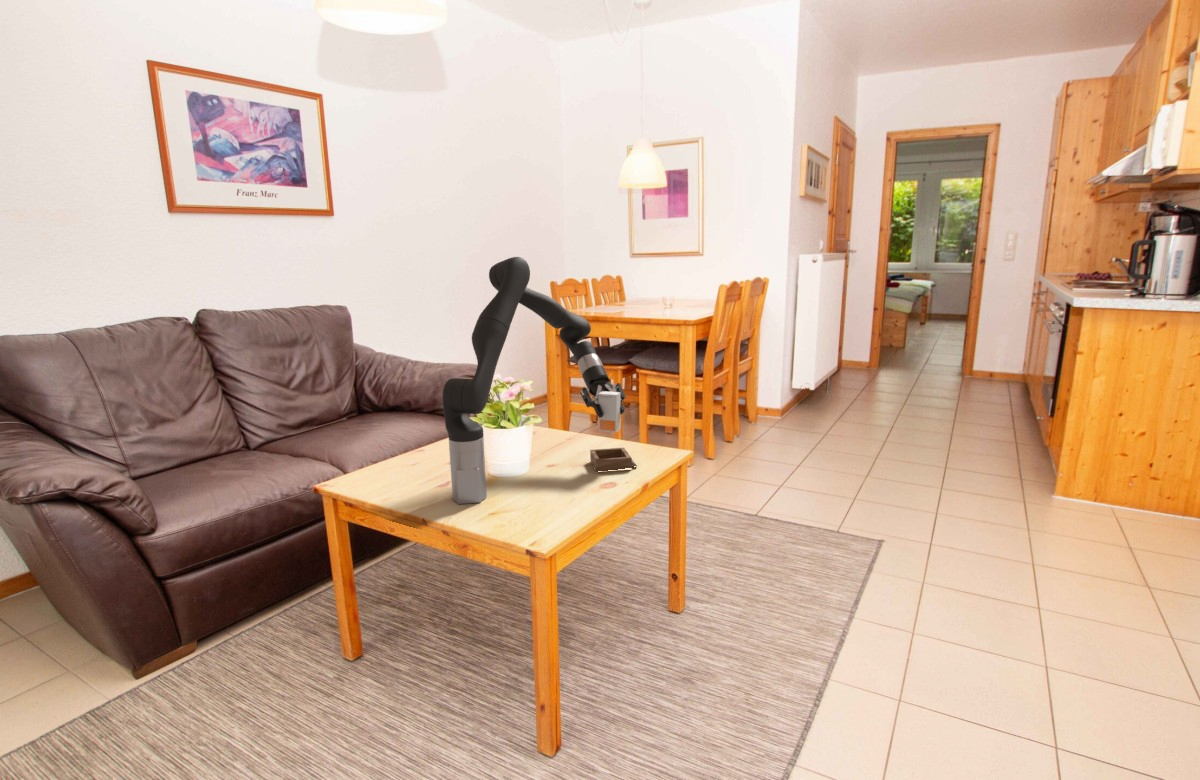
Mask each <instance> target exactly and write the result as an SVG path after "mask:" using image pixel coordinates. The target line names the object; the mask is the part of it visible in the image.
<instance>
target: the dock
mask: <svg viewBox="0 0 1200 780" xmlns="http://www.w3.org/2000/svg"><path fill="white" fill-rule="evenodd" d="M589 451H590V457H589V458H590V460H591V461H590V463H591V462H592V464H593V466H594V467H593V466H592V467H593V469H594V468H595V469H594V471H595V470H596V471H595V473H596V472H598V471H608V470H618V469H625V468H632V467H633V466H637V467H638V465H637V464H636V462H635V461H634V460H633V458H632V456H631V455H630V454H629V453H628V451H627V450H626V448H625V447H614V448H612V447H611V448H600V449H599V448H598V449H597V448H596V449H590V450H589ZM592 464H591V465H592ZM632 465H633V466H632Z"/></svg>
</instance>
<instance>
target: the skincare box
mask: <svg viewBox="0 0 1200 780" xmlns="http://www.w3.org/2000/svg"><path fill="white" fill-rule="evenodd" d="M620 396H621V393H620V392H607V391H602V392H600V393H599V394H598V401H599V403H598V404H600V406H601V408H602V411H603V413H604V415H603V416H602V417H601V418H599V416H597V417H598V418H597V419H598V424H597V425H598V431H599V432H608V433H618V432H619V431H621V414H620Z"/></svg>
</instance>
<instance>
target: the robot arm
mask: <svg viewBox="0 0 1200 780" xmlns="http://www.w3.org/2000/svg"><path fill="white" fill-rule="evenodd" d="M530 277H531V270H530V266H529V264H528V262H527V260H526V259H524V258H523V257H520V256H512V257H509V258H507V259H504V260H501V261H499V262H497V263H495V264H494V265H492V266H491V267H490V269H489V272H488V279H489V282H490V284H491V285H492V287H493V288H494V289H495V290H496V291H497V293H496V294H495V295H494V296H493V298H492V299H491V300H490V301H489V303H488V304H487V305H486V306H485V307H484V308H483V310H482V312H480V315H479V316H478V318H477V321H476V323H475V326H474V328H473V331H472V334H471V342H472V343H471V344H472V347H473V350H474V354H475V358H476V361H477V367H476V371H475V372H474V376H473V377H472V378H463V377H462V378H459V377H454V378H449V379H447V380H446V381H445V384H444V386H443V388H442V395H441V396H442V407H443V408H442V409H443V415H444V424H445V429H446V432H447V434H448V446H449V465H450V466H449V467H450V478H451V491H452V493H451V495H452V500H453V502H456V503H457V505H464V504H465V505H466V504H475V503H482V501H484V500H485V499H486V498H487V495H488V494H487V493H488V492H487V476H486V475H487V473H486V458H485V456H486V455H485V440H484V439H485V438H484V428H483V426H482V425H481V424H480V423H478V422H476V421H474V420H473V419H472V418H470V417H469V416H468V414H471V415H477V414H480V413H482V412H483V410H484V409H485V408H486V406H487V403H488V401H489V400H488V399H489V396H490V393H491V389H492V385H493V381H494V376H495V371H496V369H497V366H498V365H497V364H498V362H499V359H500V356H501V354H502V350H503V347H504V346H505V343H506V340H507V336H508V334H509V330H510V328H511V324H512V322H513V319H514V316H515V313H516V311H517V308H518V305H519V304H520V305H522V306H523V307H525V308H527V309H529V310H530V311H532V312H534V314H536V315H538V316H539V317H540V318H541V319H542V320H544V321H545V322H546V323H548V325H550V326H551V327H553V328H554V329H557V330H559V339H560V340H561V341H562V342H563V344H564V345H565V346H566V347H567V348H568V350H570V352H571V353H572V354H573V356H574V358H575V359H574V360H575V361H576V363H577V366H578V370H579V372H580V375H581V377H582V379H583V381H584V383H585V384H584V385H585V386H586V387H585V386H583V387H582V388H581V389H580V391H579V394H580V395H581V398H582V400H583V402H584V404H585V406H586V407H587V408H590V407H591V408H593V410H594V412H595V414H596V416H597V417H598V416H599V418H601V417H602V416H603V415H604V413H603V411H602V408H601V406H600V404H598V403H599V401H598V394H599V393H600V392H602V391H607V392H620V393H621V396H620V415H623V414H624V413H625V409H626V408H625V406H624V403H623V402H624V401H625V399H626V394H625V391H624V389H623V387H622V384H621V383H620V382H617V383H616V384H612V382H610V377H609V376H608V373H607V371H606V369H605V367H604V364H603V363H602V360H601V358H600V357H599V355H598V354H597V351H596V349H595V346H594V345H593V343H592V342H591V341H588V340H584V339H585V338H586V337H588V335H589V334H590V333H591V332H592V329H591V328H592V326H591V324H590V322H589V321H588V320H587V319H586V318H585V317H583V316H582V315H580V314H577V313H574V312H573V311H570V310H568V309H566V308H565V307H564V306H563V305H562V304H560V303H559V302H558V301H557V300H555V298H552V297H550V296H548V295H546V294H543V293H542V292H538V291H535V290H532V289H531V288H529V287H528V284H529V282H530ZM582 340H584V341H582ZM591 396H593V397H591Z"/></svg>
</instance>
